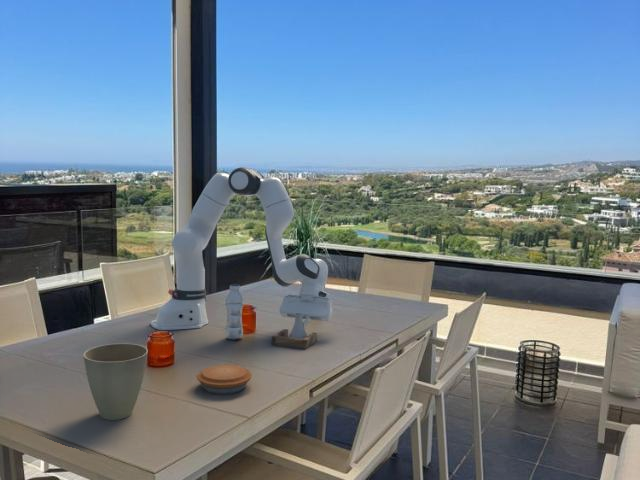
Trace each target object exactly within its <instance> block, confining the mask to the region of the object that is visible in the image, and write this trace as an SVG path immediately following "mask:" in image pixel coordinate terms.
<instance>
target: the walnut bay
mask: <svg viewBox="0 0 640 480" xmlns="http://www.w3.org/2000/svg"><path fill="white" fill-rule="evenodd" d="M317 335H318V333H317V332H311V333H310V334H309V335H306V336H307V337H306V338H304V339H298V338H290V337H289V329H286V328H284V329H282V330H280V331H279V332H277V333H275V334H274V335H272V336H271V345H273V346H280V347H286V348H295V349H302V350H306V349H308V348H309V347H311V346H312V345H313V344H315V343H316V342H317V340H318V339H317Z"/></svg>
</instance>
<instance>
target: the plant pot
mask: <svg viewBox="0 0 640 480" xmlns="http://www.w3.org/2000/svg"><path fill="white" fill-rule="evenodd" d="M148 353H149V350H148V348H147V347H146V346H144V345H141V344H135V343H126V342H124V343H123V342H121V343H108V344H102V345H98V346H95V347H91V348H89V349H87V350H85V351H84V352H83V363H84V367H85V373H86V377H87V381H88V385H89V388H90V389H89V390H90V391H91V395H92V399H93V401H94V404H95V406H96V408H97V411H98V413H99V417H101V419H104V420H108V421H118V420H123V419H126V418H129V416H131V415H132V414H133V411H134V409H135V407H136V403H137V402H138V401H137V400H138V397H139V394H140V391H141V388H142V384H143V382H144V381H143V380H144V376H145V372H146V366H147V359H148Z"/></svg>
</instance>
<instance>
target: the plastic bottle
mask: <svg viewBox="0 0 640 480" xmlns="http://www.w3.org/2000/svg"><path fill="white" fill-rule="evenodd" d="M240 291H241V285H240V284H230V285H229V293H228V294H227V295H226V297H225V306H226V324H225V325H226V326H225V332H224V334H225V335H224V336H225V337H226V338H227V339H229V340H239V339H242V338H243V336H244V329H243V320H242V319H243V317H242V314H243V305H244V297H243V295H242V294H241V293H240Z"/></svg>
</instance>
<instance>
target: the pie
mask: <svg viewBox="0 0 640 480" xmlns="http://www.w3.org/2000/svg"><path fill="white" fill-rule="evenodd" d="M195 376H196V380H197V381H198V382H199V383H200V385H201V386H202V388H203V389H204V390H205V391H206V392H208V393H210V394H214V395H231V394H237V393H240V392H241V391H243V390H244V389H245V387H246V386H247V384H248V382H249V381H250V380H251V378H252V376H253V375H252V372H251V371H250V370H249V369H246V368H245V367H244V368H243V367H242V366H238V365H232V364H220V365H214V366H209V367H207V368H205V369H203V370H200V372H198V373H197V374H196V375H195Z"/></svg>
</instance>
